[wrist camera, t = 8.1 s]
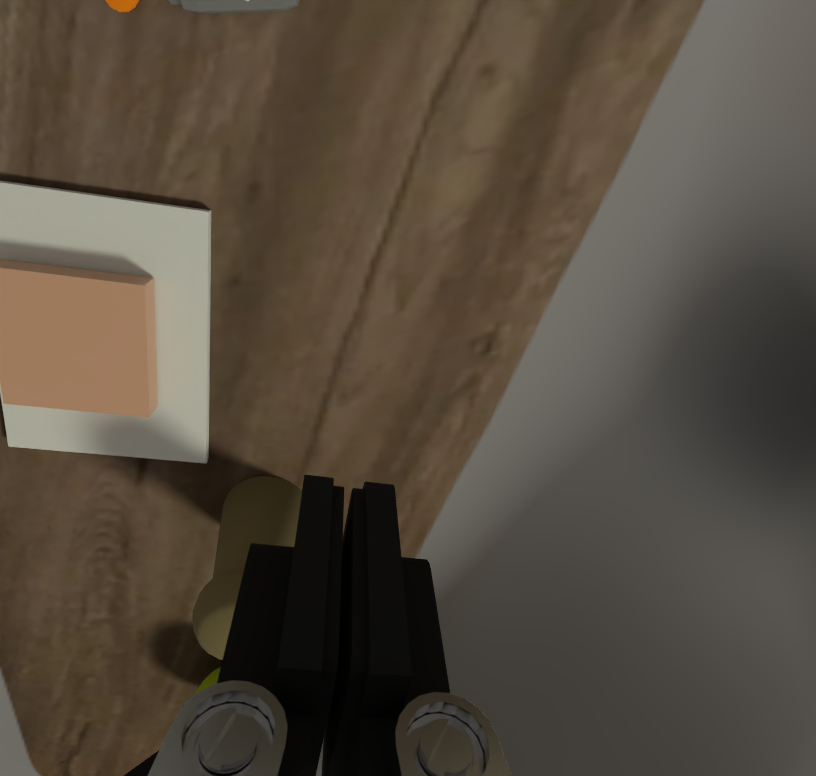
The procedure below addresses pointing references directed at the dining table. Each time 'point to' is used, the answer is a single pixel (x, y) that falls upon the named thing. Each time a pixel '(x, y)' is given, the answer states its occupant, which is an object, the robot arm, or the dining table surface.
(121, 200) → the mat
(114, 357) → the tile
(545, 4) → the dining table surface
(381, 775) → the robot arm
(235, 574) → the cork
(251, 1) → the key chain
